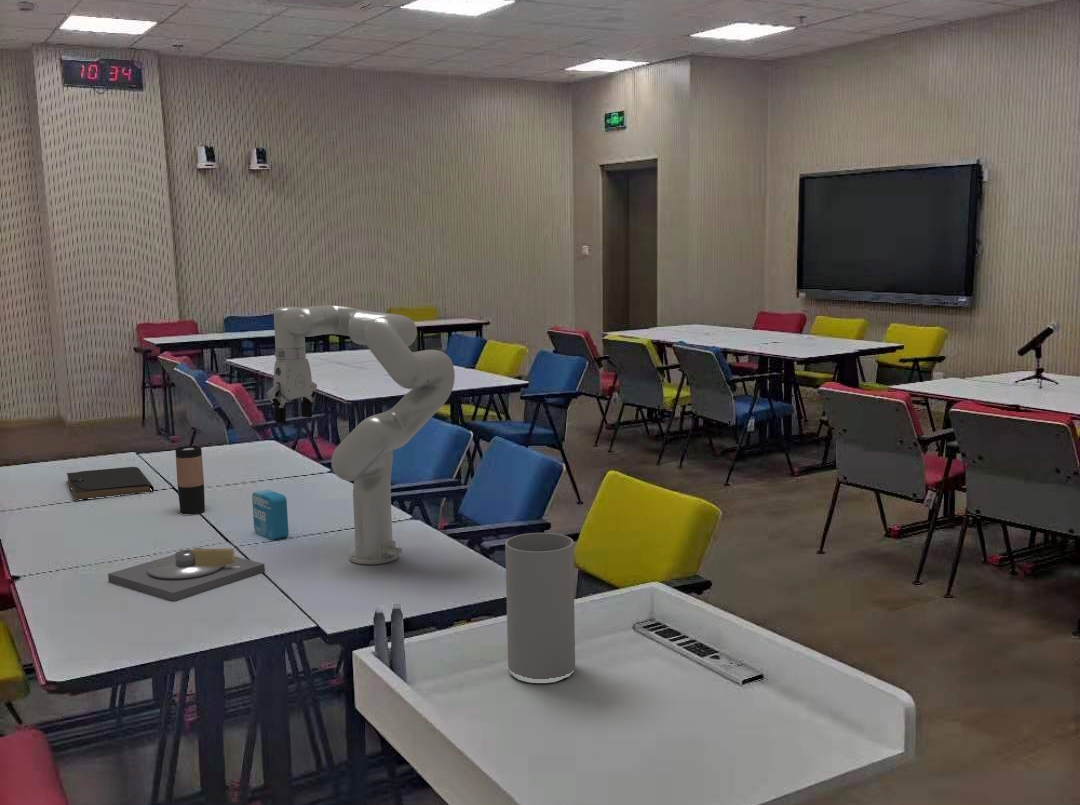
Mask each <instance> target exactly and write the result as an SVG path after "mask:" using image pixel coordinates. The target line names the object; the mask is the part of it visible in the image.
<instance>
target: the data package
mask: <svg viewBox="0 0 1080 805" xmlns="http://www.w3.org/2000/svg"><path fill="white" fill-rule="evenodd" d="M251 500H252V515H253V516H252V517H253V529H254V533H255V534H257V535H260V536H261V537H265V538H267V539H268V540H272V541H274V540H278V539H283V538H287V537H288V536H289V534H290V533H289V520H288V519H289V518H288V500H287V496H285V494H282V493H279V492H276V491H274V490H270V489H264V490H263V489H262V490H259V491H257V490H256V491H254V492H252V494H251Z"/></svg>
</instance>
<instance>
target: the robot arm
mask: <svg viewBox="0 0 1080 805" xmlns="http://www.w3.org/2000/svg"><path fill="white" fill-rule="evenodd" d="M273 323H274V324H273V326H274V342H275V352H274V353H273V354H274V357H275V361H274V367H273V386H272V387H271V388H270V389H269V390H267V392H266V395H267V398H268V400H269V403H270V404H271V405H272V408H274V420H275V421H274V422H275V423H277V424H286V422H287V415H286V412H287V411H286V407H284V406H285V404H286V402H287V400H296V399H297V400H298V399H301V403H300V407H301V409H300V410H301V417H302V418H313V401H314V397H315V395H316V392H317V388H318V384H317V383H316V382H313V378H312V371H311V366H310V362H309V359H308V358H307V357H306V356H307V355H306V338H307V337H308V338H310V337H317V336H322V335H323V336H324V335H340V336H346V337H347V336H348V337H349V338H350V340H351V341H352V342H353V343H354V344H357V345H362V346H367V347H368V349H369V350H370V352H371V353H372V354H373V356H374V357H375V358H376V360H377V361H378V363H379V364H380V365H381V366H382V368H383V369H384V370H385V371H386V372H387V374H388V376H390V378H391V379H392V380H393V381H394V383H396V384H397V385H398V386H399V387H402V388H403V389H408V390H409V389H410V390H409V391H408V392H407V393H406V394H404V395H403V396H402V398H401V399H400V400H399V401H398V402H397V403H396V404H395V405H394V406H393V407H391V408H390V409H389V410H387V411H384V412H381V413H377V414H373V415H371V416H368V417H366V418H365V419H363V420H362V421H361V422H359V423H358V424H357V425H356V426H355V428H353V429H352V430H351V432H350V433H348V435H347V436H346V437H345V438H344V439H343V440H342V441H341V442H340V443H339V444H338V445H337V446H336V448H335V449H334V450H333V453H332V455H331V461H330V463H331V464H330V465H331V469H332V472H333V474H334V475H335V476H336V477H337V478H339V479H341V480H342V481H347V482H352V481H353V486H352V503H353V523H354V524H353V525H354V526H353V527H354V529H353V530H354V546H355V549H354V551H351V552H350V553H349V560H350V561H351V562H352V563H354V564H359V565H381V564H388V563H390V562H393V561H396V560H397V559H398V558H399V557H400V554H402V553H403V549H402V548H401V547H397V546H396V540H393V522H392V520H393V519H392V517H393V516H392V499H391V498H392V490H391V489H392V488H391V487H392V486H391V482H392V481H391V480H392V469H393V465H394V464H393V462H394V454H393V451H394V450H398V449H400V448H402V447H404V446H405V445H406V444H408V443H409V441H411V439H412V438H414V436H415V435H417V433H418V432H419V431H420V430H421V429H422V428H423V427H424V426H425V425H426V424H427V422H429V420H430V419H431V418H432V417H433V416H435V414H437V412H438V411H439V410H440V409H441V408H442V406H444V404H445V403H446V402H447V401H448V399H449V397H450V396H451V393H452V391H453V389H454V384H455V376H456V375H455V368H454V364H453V362H452V359H451V357H449V355H448V354H447V353H445V352H443V351H441V350H439V349H425V350H424V349H423V350H419V351H412V350H411V349H410V346H411V345H413V343H414V342H415V340H416V339H417V336H418V334H417V333H418V329H417V325H416V324H415V322H414V321H413V319H411V318H409V317H408V316H406V315H402V314H398V313H397V314H396V313H389V312H388V313H387V312H379V311H378V312H377V311H373V310H372V311H371V310H363V309H359V308H355V307H349V306H340V305H333V304H332V305H331V304H330V305H329V304H325V305H324V304H323V305H313V306H305V307H299V306H280V307H276V308H275V309H274V312H273ZM305 337H306V338H305Z"/></svg>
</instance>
